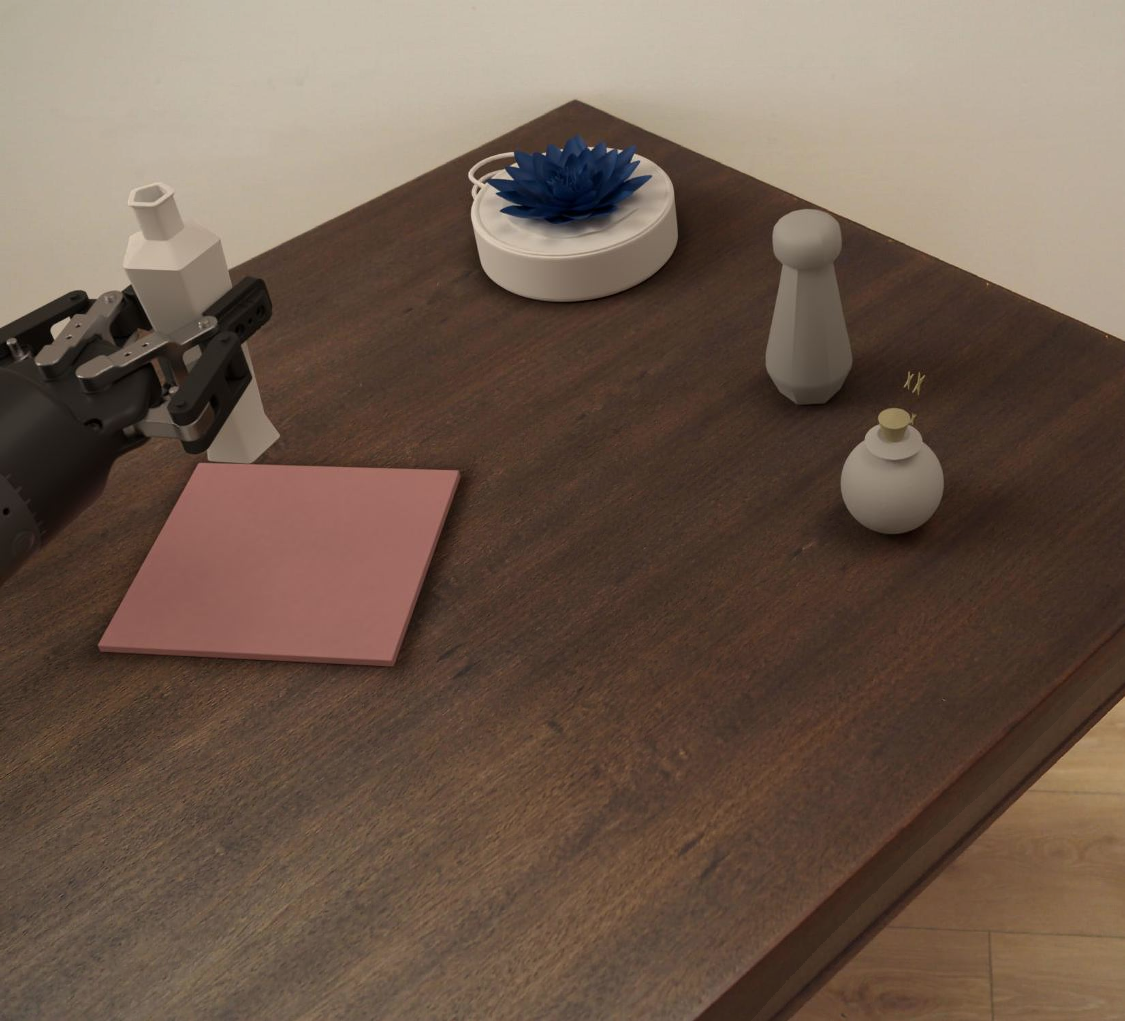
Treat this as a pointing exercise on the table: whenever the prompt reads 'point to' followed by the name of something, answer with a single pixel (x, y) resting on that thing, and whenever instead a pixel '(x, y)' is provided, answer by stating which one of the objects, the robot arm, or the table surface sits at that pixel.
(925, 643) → the table surface
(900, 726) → the table surface
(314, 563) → the cosmetics mat
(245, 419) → the perfume bottle
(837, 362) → the salt shaker
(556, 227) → the box with blue lotus
